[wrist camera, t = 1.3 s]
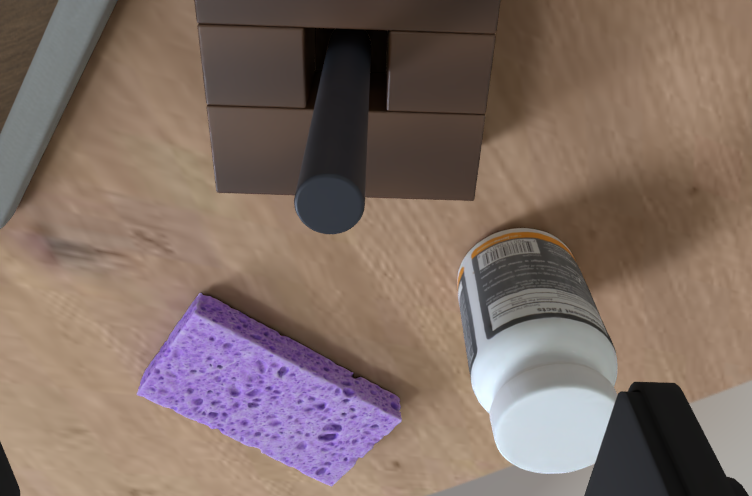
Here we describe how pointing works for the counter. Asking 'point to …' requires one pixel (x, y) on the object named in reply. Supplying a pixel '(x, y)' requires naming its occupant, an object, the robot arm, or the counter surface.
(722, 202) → the counter surface
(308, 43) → the dock
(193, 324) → the sponge
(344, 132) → the peg
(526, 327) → the pill bottle
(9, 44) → the grey-rimmed serving tray
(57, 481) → the counter surface
